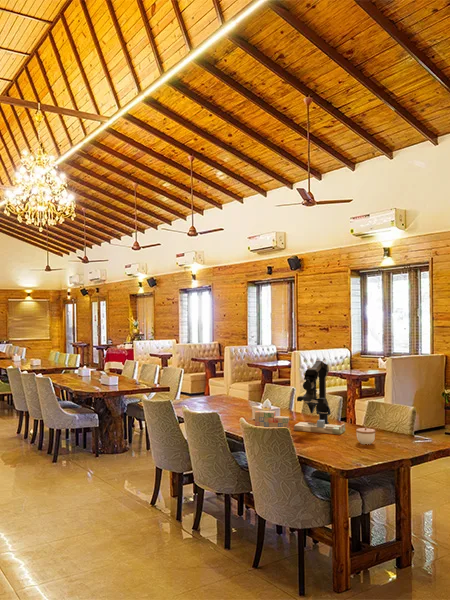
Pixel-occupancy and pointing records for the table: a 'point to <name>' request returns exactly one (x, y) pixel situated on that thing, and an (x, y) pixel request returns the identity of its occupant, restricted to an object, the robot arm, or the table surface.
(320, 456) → the table surface
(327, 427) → the board
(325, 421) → the robot arm
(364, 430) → the lidded jar
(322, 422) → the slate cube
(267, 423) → the stack of blocks
